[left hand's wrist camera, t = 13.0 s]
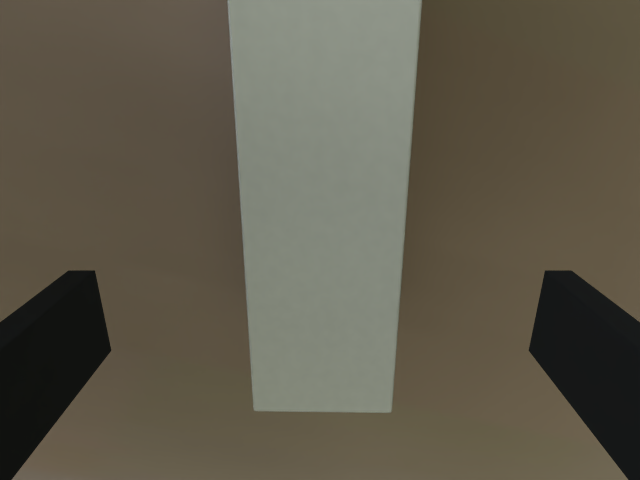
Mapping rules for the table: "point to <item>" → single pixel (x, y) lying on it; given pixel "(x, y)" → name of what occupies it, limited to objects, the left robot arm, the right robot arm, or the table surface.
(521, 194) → the table surface
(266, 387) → the beam
